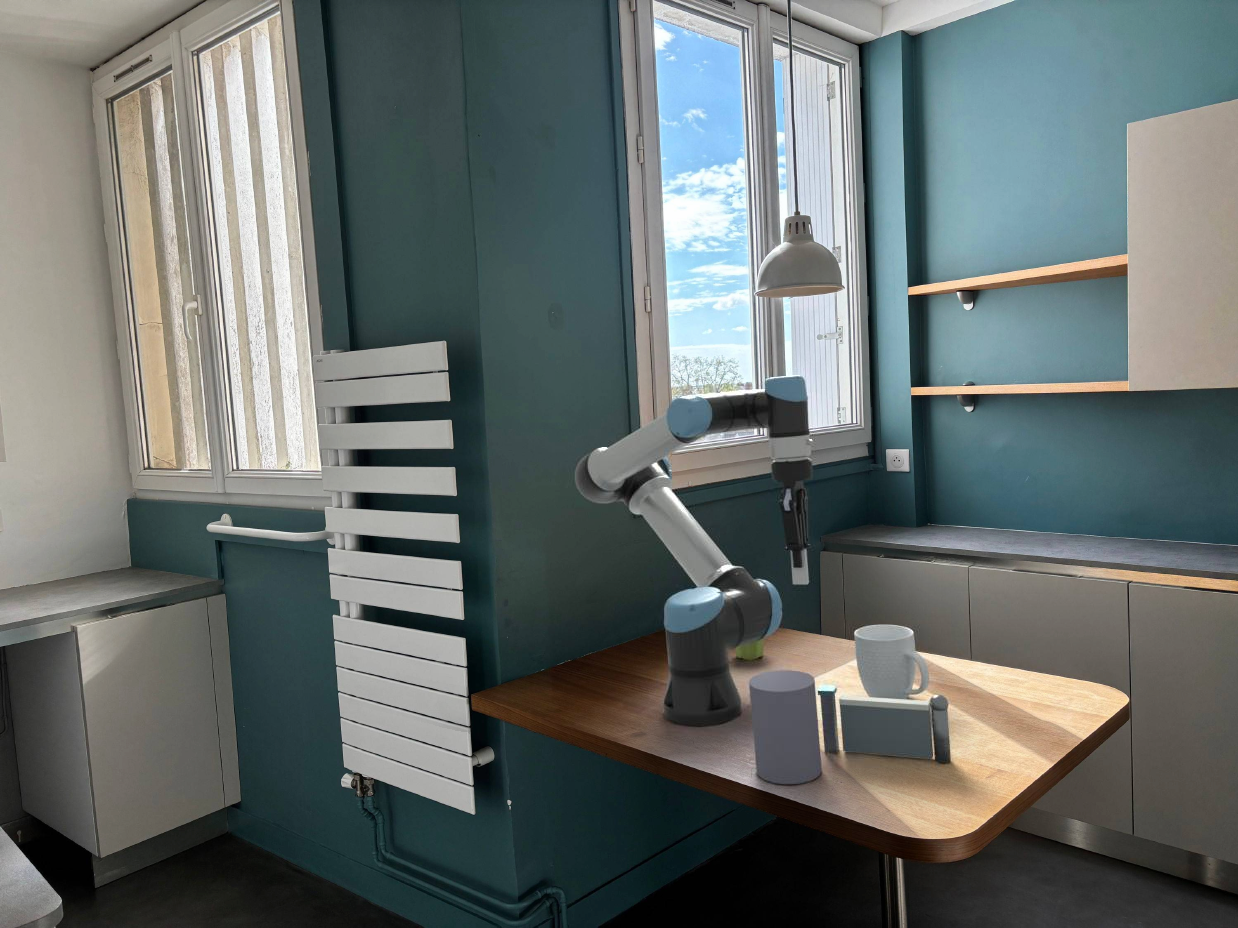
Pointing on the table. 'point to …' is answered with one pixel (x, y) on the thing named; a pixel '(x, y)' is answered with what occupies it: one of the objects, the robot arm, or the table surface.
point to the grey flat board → (886, 726)
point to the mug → (889, 661)
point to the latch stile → (829, 718)
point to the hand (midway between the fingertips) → (800, 583)
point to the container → (785, 726)
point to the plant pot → (751, 650)
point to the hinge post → (940, 729)
